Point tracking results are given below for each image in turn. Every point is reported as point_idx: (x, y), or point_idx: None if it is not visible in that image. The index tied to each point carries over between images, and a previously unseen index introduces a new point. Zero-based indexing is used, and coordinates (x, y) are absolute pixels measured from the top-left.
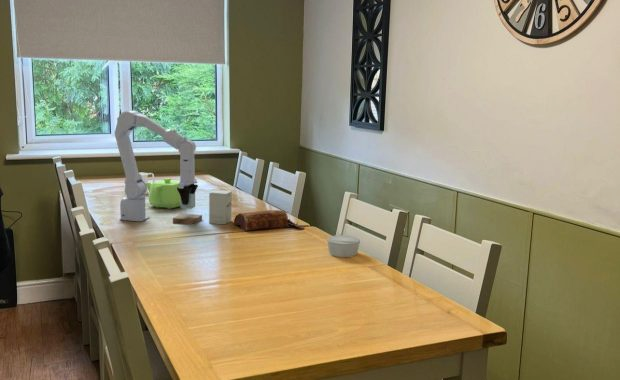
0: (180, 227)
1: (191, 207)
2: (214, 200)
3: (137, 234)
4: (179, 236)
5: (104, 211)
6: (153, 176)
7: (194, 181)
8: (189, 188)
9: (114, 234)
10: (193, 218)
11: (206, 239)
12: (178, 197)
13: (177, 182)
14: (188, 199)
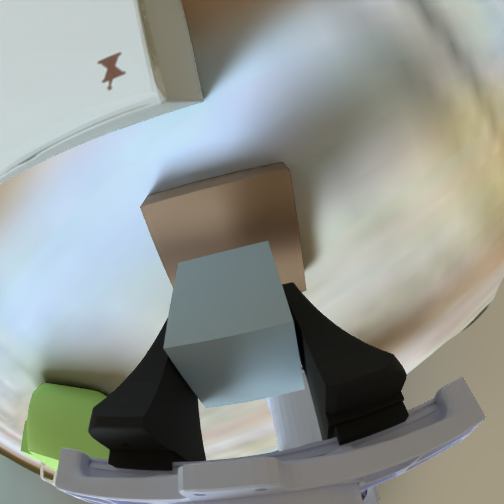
0: (371, 189)
1: (264, 246)
2: (173, 31)
3: (478, 259)
4: (485, 118)
5: (250, 450)
6: (41, 472)
7: (244, 496)
8: (375, 384)
9: (474, 303)
10: (262, 191)
11: (476, 10)
12: (68, 414)
13: (43, 459)
14: (299, 306)
